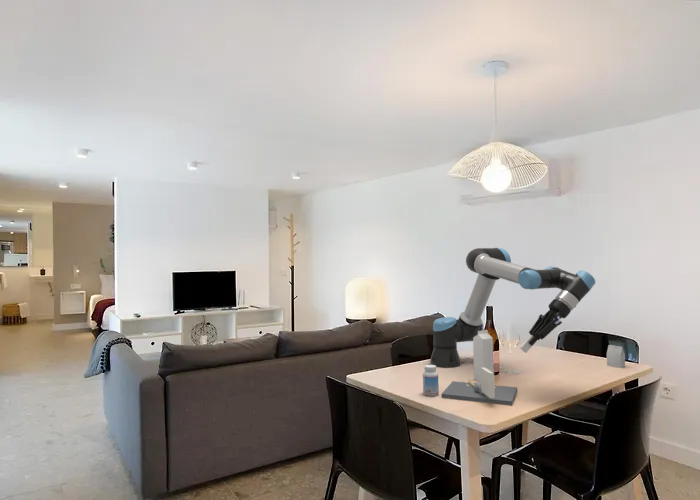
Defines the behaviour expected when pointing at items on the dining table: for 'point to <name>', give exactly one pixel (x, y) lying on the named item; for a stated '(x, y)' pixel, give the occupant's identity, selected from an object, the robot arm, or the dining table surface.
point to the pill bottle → (430, 381)
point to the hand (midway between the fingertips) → (522, 350)
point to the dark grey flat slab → (467, 392)
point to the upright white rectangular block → (485, 383)
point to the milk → (482, 353)
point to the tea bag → (615, 356)
